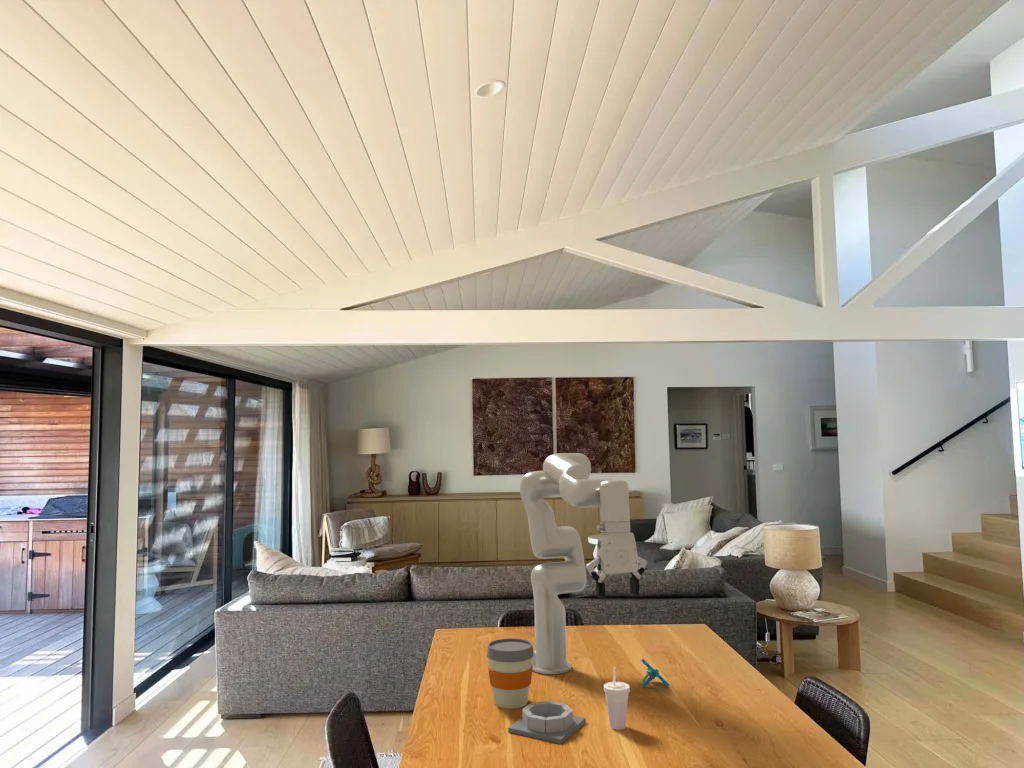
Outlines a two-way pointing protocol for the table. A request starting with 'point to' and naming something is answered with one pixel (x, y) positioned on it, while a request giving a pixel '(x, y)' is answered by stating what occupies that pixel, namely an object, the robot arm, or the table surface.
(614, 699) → the smoothie
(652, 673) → the gear
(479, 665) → the table surface
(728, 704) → the table surface
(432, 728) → the table surface
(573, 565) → the robot arm
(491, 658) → the reusable coffee cup
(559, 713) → the bottle socket
